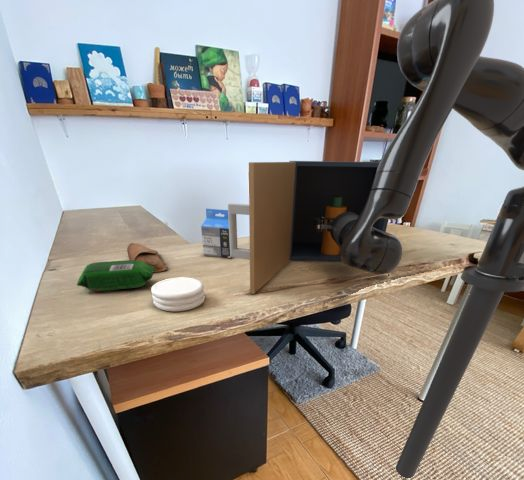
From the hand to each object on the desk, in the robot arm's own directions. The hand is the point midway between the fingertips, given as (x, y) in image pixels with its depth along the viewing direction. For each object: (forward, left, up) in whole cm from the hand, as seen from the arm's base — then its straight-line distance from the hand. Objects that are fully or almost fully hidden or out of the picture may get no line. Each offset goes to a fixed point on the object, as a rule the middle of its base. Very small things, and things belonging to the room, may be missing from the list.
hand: (336, 220), depth 80 cm
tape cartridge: (+20, +27, -11) cm, 35 cm away
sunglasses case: (+23, +47, -11) cm, 54 cm away
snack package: (+9, +57, -11) cm, 58 cm away
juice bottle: (+2, -2, -9) cm, 10 cm away
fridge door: (-1, +25, -10) cm, 27 cm away
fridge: (+5, -3, -10) cm, 12 cm away
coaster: (-6, +49, -11) cm, 50 cm away
